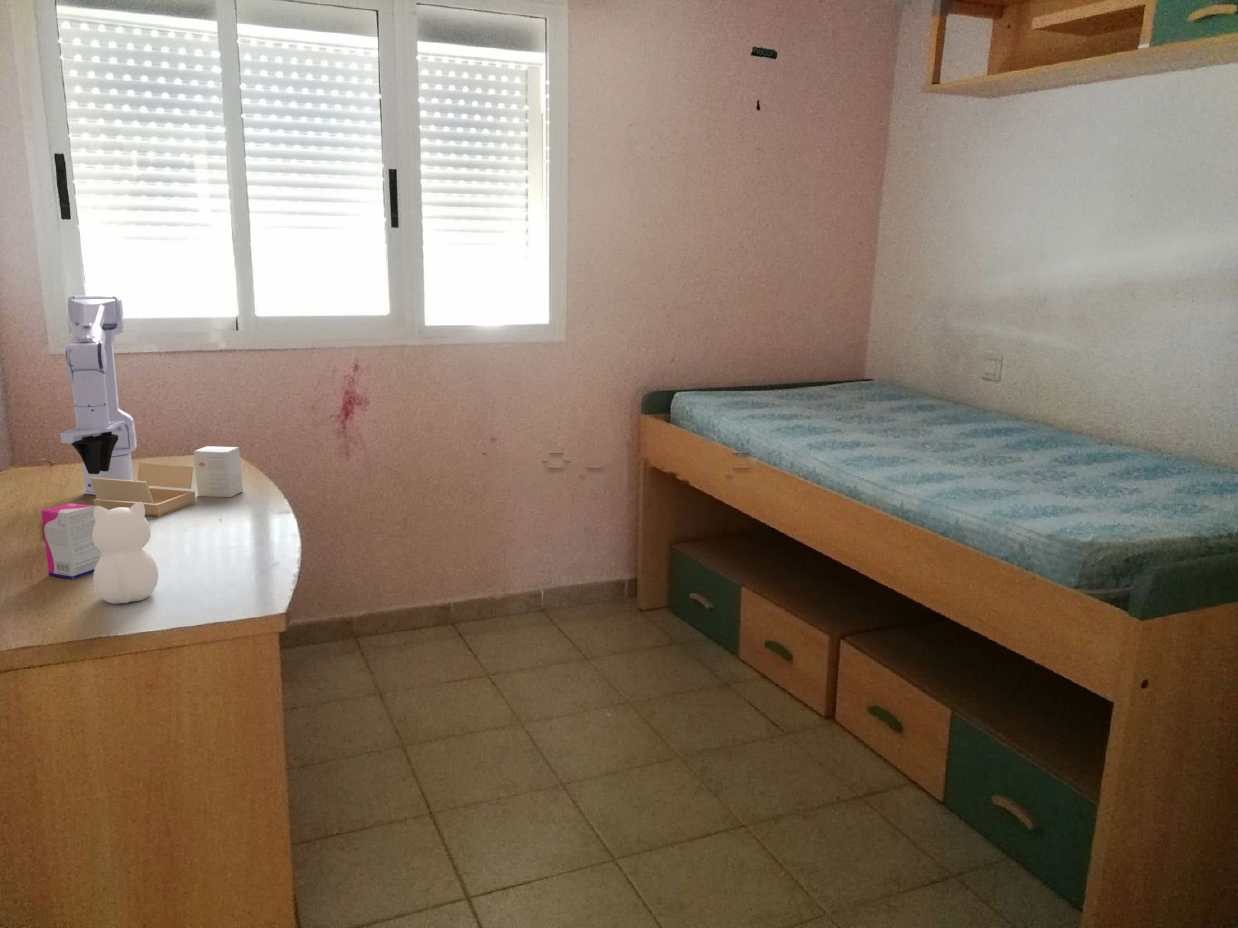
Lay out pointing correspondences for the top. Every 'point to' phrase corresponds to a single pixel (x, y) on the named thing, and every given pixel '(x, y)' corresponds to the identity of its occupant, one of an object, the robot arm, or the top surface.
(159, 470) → the far flap
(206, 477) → the small box
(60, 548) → the supplement box
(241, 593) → the top surface
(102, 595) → the cat figurine
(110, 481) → the near flap
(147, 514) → the carton
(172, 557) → the top surface
